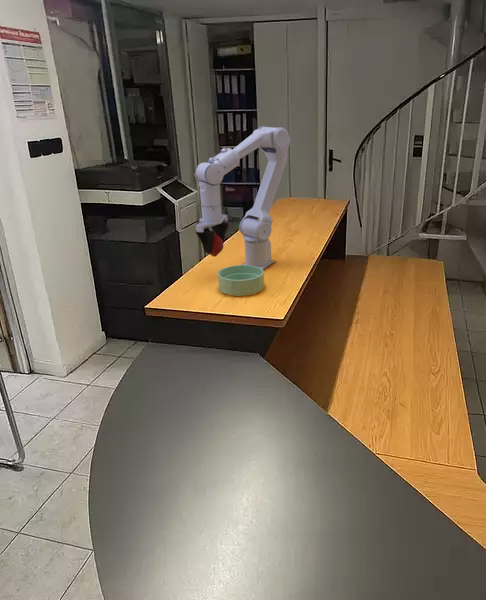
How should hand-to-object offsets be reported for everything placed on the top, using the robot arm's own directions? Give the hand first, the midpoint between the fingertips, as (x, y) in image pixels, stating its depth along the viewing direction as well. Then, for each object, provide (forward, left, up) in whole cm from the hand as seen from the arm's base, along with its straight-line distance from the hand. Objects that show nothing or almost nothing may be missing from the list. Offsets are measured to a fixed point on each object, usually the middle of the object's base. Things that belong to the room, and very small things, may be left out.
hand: (214, 249), depth 147 cm
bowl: (+6, +12, -9) cm, 16 cm away
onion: (0, 0, -2) cm, 2 cm away
